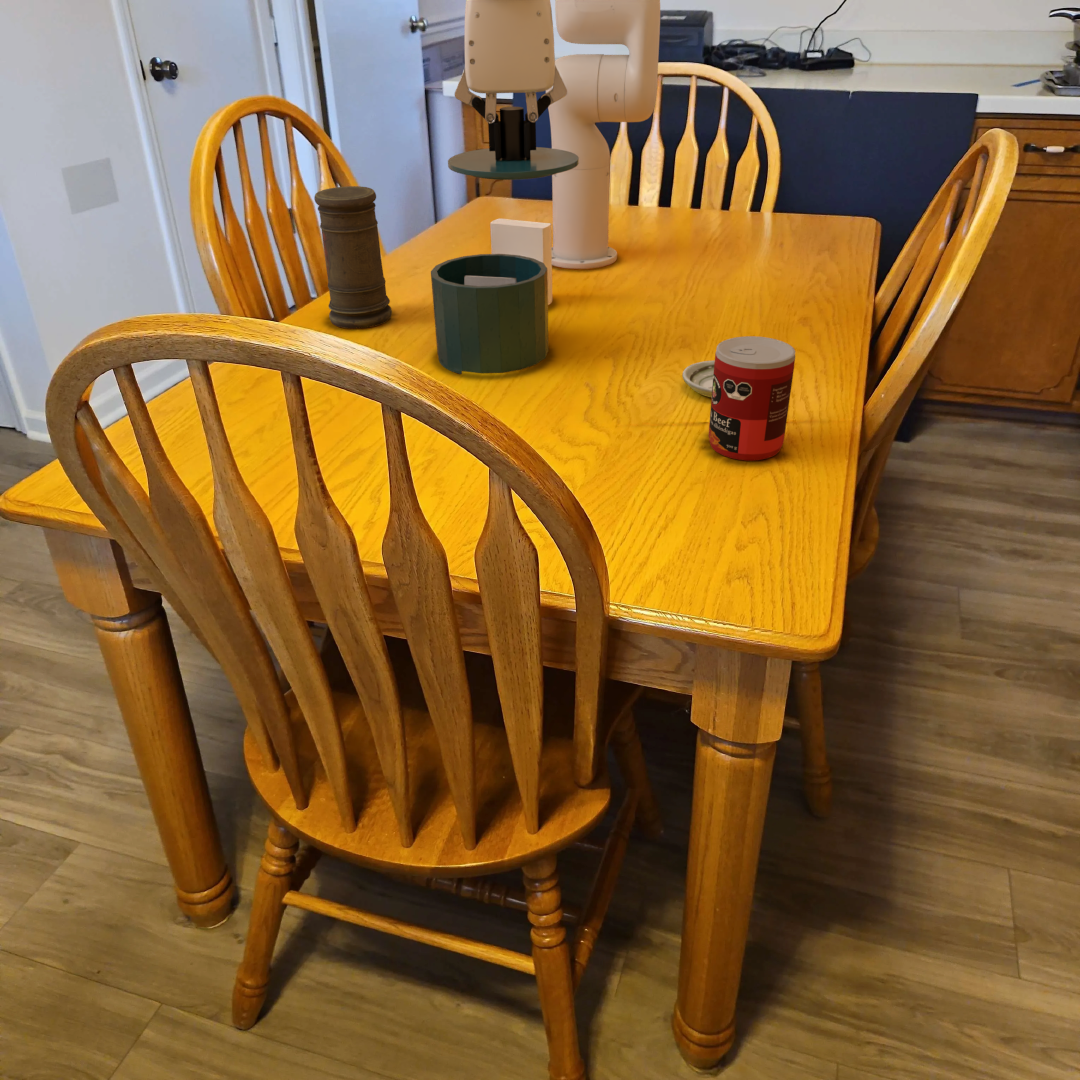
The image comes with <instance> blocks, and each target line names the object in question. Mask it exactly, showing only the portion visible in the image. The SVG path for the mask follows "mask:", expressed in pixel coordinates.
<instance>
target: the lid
mask: <svg viewBox="0 0 1080 1080" xmlns="http://www.w3.org/2000/svg"><path fill="white" fill-rule="evenodd" d="M524 110H525V109H524V107H522V106H503V107H500V108H499V121H500V129H501V154H502V159H500V160H496V159H495V151H489V147H488V148H482V149H481V148H480V149H475V150H474V149H473V150H469V151H465V152H461V153H458V154H455V155H453V156H450V157H449V158H448V160H447V167H448V169H449V170H450V171H452V172H453V173H457V174H461V175H466V176H469V177H470V176H471V177H474V178H479V179H485V180H486V179H487V180H497V181H499V180H500V181H519V180H520V181H521V180H531V179H539V178H540V179H541V178H545V177H550V176H552V175H554V174H556V173H561V172H564V171H568V170H571V169H573V168H575V167H576V166H577V165H578V164H579V157H578V156H577V155H576V154H574V153H572V152H568V151H564V150H559V149H552V147H541V146H540V147H538V146H536V150H530V154H531V159H526V158H525V154H524V120H525V111H524Z"/></svg>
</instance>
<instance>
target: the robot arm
mask: <svg viewBox="0 0 1080 1080" xmlns="http://www.w3.org/2000/svg"><path fill="white" fill-rule="evenodd" d="M464 7H465V10H464V69H463V71H462V74H461V75H460V78H459V81H458V83H457V86H456V89H455V90H454V97H455V99H456V100H459V101H461V102H462V103H464V104H465V105H468V106H470V107H472V108H473V109H474V110H475V111H476V112H477V113H478V114H479V115H480V116H481V117H482V118H483V119H484V120H485V122H486V123H487V126H488V127H487V128H488V148H489V151H495V159H496V160H500V159H502V154H501V129H500V115H499V114H498V113H497V101H498V100H497V99H498V98H497V97H498V96H497V94H522V93H524V95H525V102H526V113H524V154H525V158H526V159H531V154H530V150H536V147H537V121H538V120H539V118H540V117H541V116H542V115H543V114H544V113H545V111H546V110H547V109H548V116H549V125H550V137H551V148H552V149H559V150H564V151H568V152H572V153H574V154H576V155H577V156H578V157H579V164H578V165H577V166H576V167H575V168H573V169H571V170H568V171H564V172H561V173H556V174H554V175H551V183H552V184H551V185H552V186H551V190H552V192H551V195H552V197H551V198H552V199H551V201H552V202H551V203H552V246H551V247H552V267H557V268H560V269H561V268H562V269H568V270H569V269H570V270H589V269H597V268H603V267H606V266H607V267H608V266H610V265H612V264H613V263H615V262H616V261H617V259H618V252H617V250H616V249H614V248H613V247H611V246H609V224H610V223H609V221H610V218H609V217H610V173H611V171H610V168H611V165H610V164H611V152H610V147H609V144H608V142H607V140H606V138H605V137H604V136H603V134H602V133H601V131H600V130H599V128H598V127H597V125H596V123H641V122H644V121H646V120H648V119H650V117H651V116H652V115H653V113H654V110H655V107H656V101H657V96H658V95H657V93H658V79H659V78H658V77H659V54H660V53H659V52H660V51H659V50H660V32H661V31H660V30H661V0H554V7H555V8H554V13H555V25H556V31H557V34H558V36H559V37H560V39H562V40H563V41H565V42H566V43H569V44H577V45H623V46H625V47H626V48H627V49H628V53H629V54H604V53H592V54H591V53H590V54H589V53H587V54H585V53H583V54H582V53H576V54H568V55H564V56H560V57H558V58H557V59H556V58H555V55H556V54H555V34H554V21H553V12H552V4H551V0H465V6H464ZM543 92H545V93H544V94H543ZM477 93H478V94H485V100H484V99H483V98H482V97H481V96H480V95H477ZM537 93H542V95H540V97H539V98H538V99H537Z"/></svg>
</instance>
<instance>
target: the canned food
mask: <svg viewBox="0 0 1080 1080" xmlns="http://www.w3.org/2000/svg"><path fill="white" fill-rule="evenodd" d="M714 360H715V362H714V374H713V386H712V398H710V399H711V401H710V412H709V422H708V423H709V425H708V426H709V427H708V442H709V445H710V447H711V449H712V450H713V451H715V452H716V453H718V454H719V455H721V456H723V457H725V458H729V459H733V460H738V461H748V462H749V461H763V460H768V459H770V458H772V457H774V456H776V455H778V453H779V452H780V451H781V449H782V447H783V445H784V443H785V442H784V441H785V434H786V427H787V420H788V413H789V406H790V399H791V392H792V387H793V379H794V372H795V362H796V350H795V348H794V347H793V346H792V345H791V344H789V343H787V342H785V341H782V340H779V339H776V338H770V337H765V336H755V335H754V336H751V335H750V336H747V335H746V336H736V337H731V338H728V339H725V340H722V341H720V342H719V343H718V344H717V346H716V351H715V355H714Z"/></svg>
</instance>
